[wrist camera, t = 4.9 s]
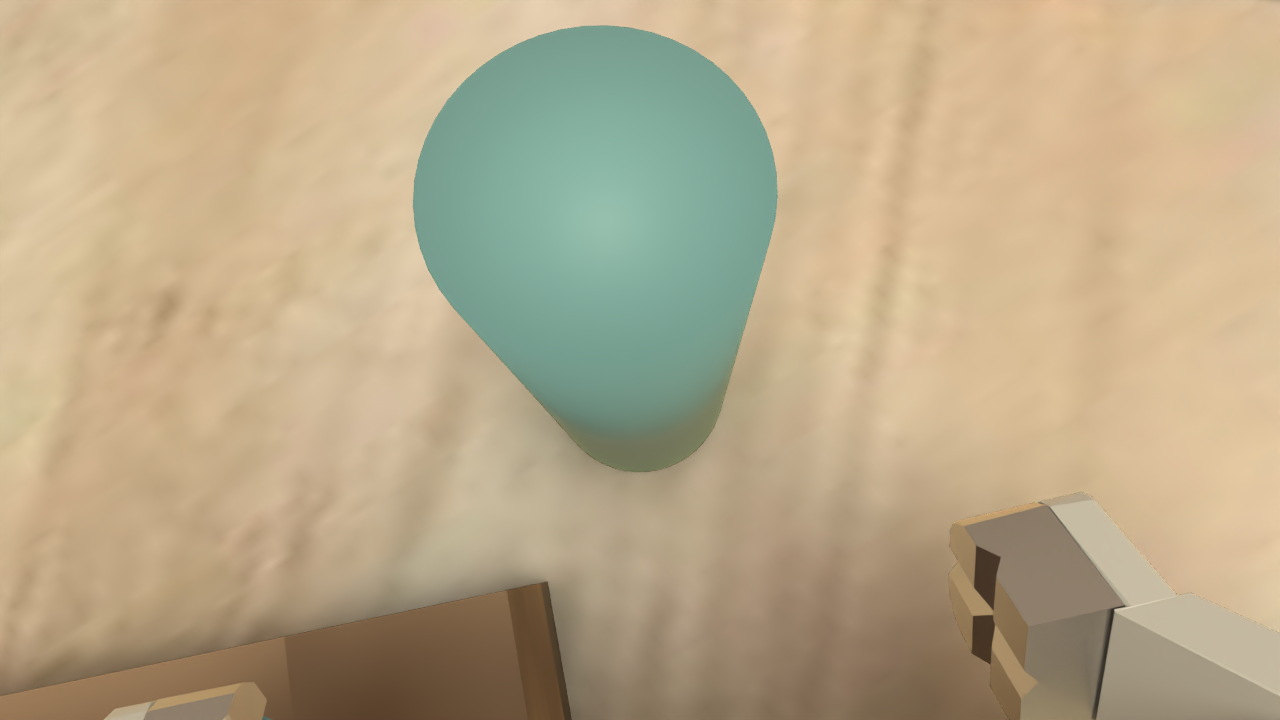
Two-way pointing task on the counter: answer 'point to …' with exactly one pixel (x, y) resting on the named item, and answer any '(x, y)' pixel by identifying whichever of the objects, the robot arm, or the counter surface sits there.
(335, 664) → the walnut holder
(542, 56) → the teal pin
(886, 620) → the counter surface
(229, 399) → the counter surface
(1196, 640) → the robot arm
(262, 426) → the counter surface
